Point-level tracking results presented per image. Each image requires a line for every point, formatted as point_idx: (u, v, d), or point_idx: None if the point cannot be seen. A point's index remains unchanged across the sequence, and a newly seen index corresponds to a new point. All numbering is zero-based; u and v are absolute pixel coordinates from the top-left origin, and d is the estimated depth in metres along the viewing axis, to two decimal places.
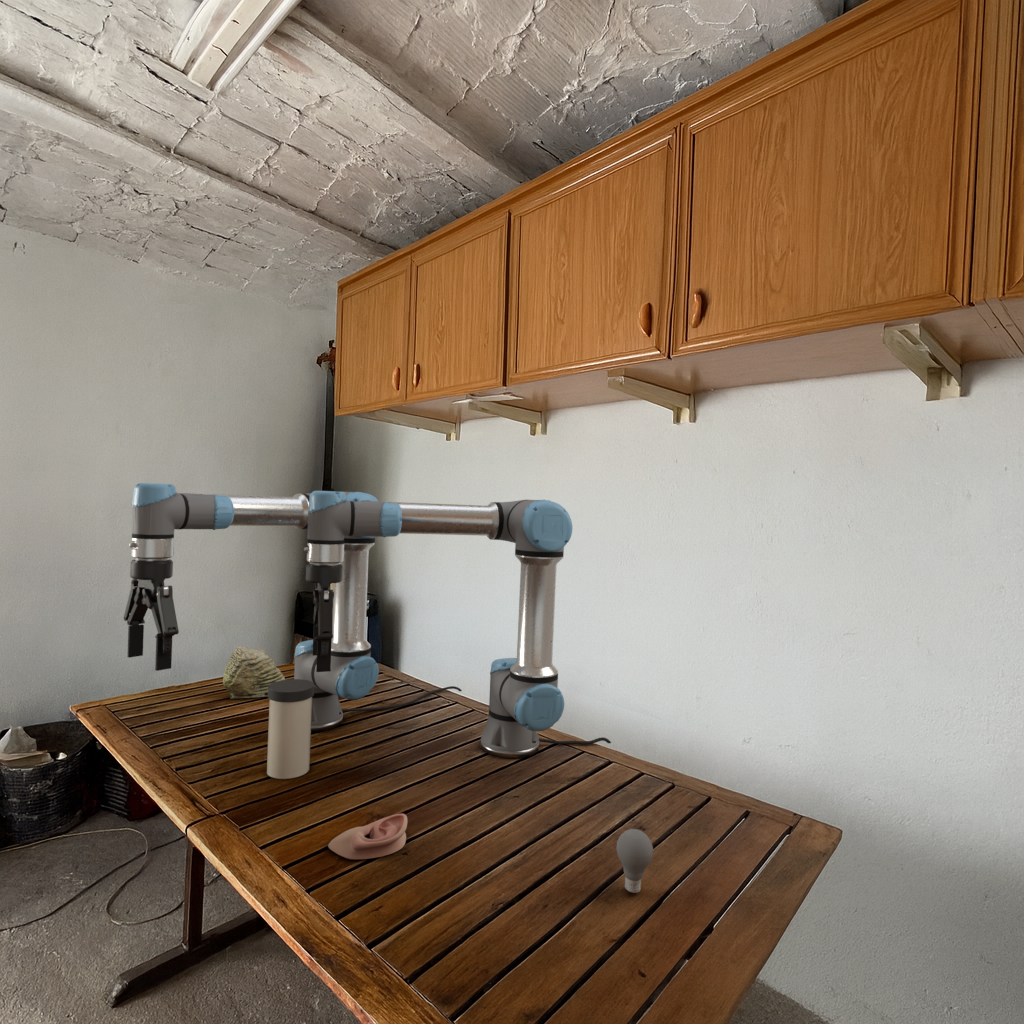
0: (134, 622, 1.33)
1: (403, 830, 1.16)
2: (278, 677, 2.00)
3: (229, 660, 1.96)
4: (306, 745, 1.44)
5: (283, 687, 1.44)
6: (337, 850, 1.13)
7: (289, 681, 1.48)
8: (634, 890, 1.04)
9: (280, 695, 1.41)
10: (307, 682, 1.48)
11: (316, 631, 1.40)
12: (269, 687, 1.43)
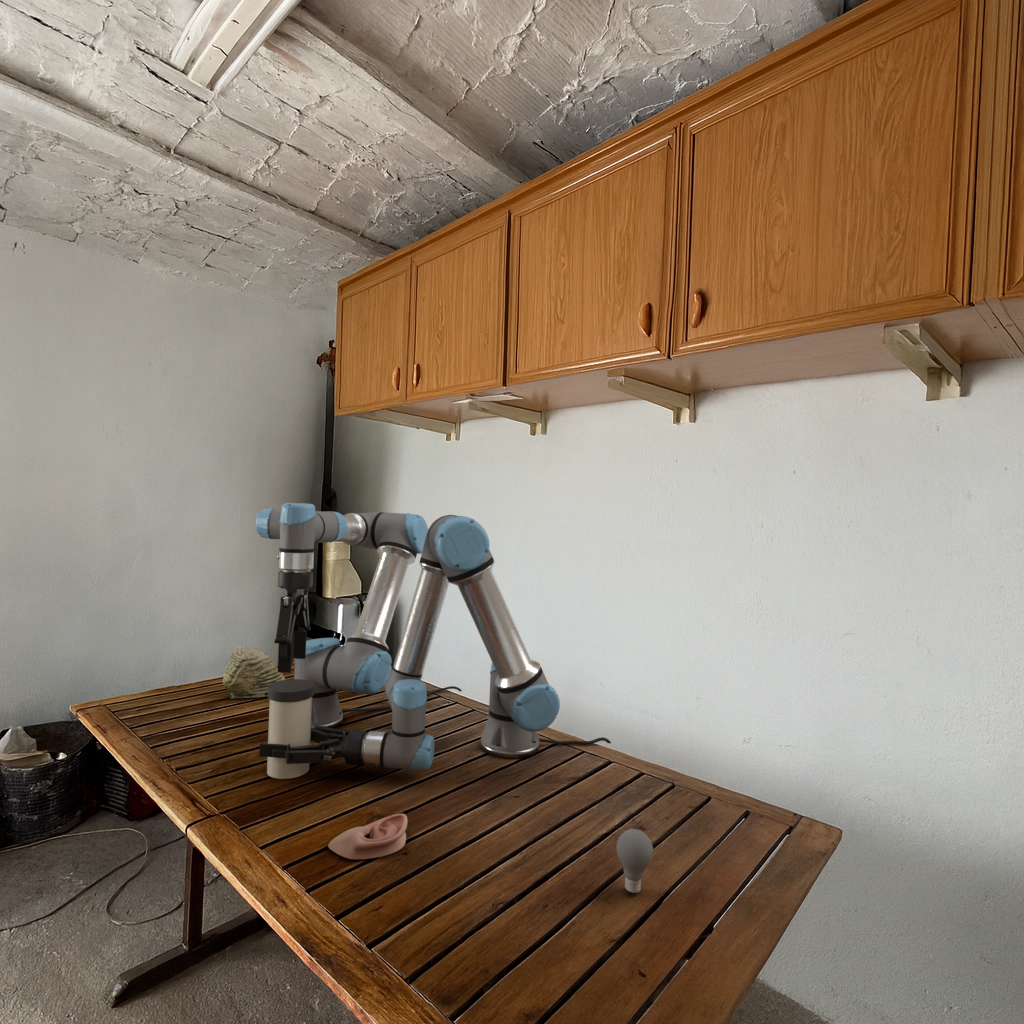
0: (300, 628, 1.52)
1: (403, 830, 1.16)
2: (278, 677, 2.00)
3: (229, 660, 1.96)
4: None
5: (283, 687, 1.44)
6: (337, 850, 1.13)
7: (289, 681, 1.48)
8: (634, 890, 1.04)
9: (280, 695, 1.41)
10: (307, 682, 1.48)
11: None
12: (269, 687, 1.43)
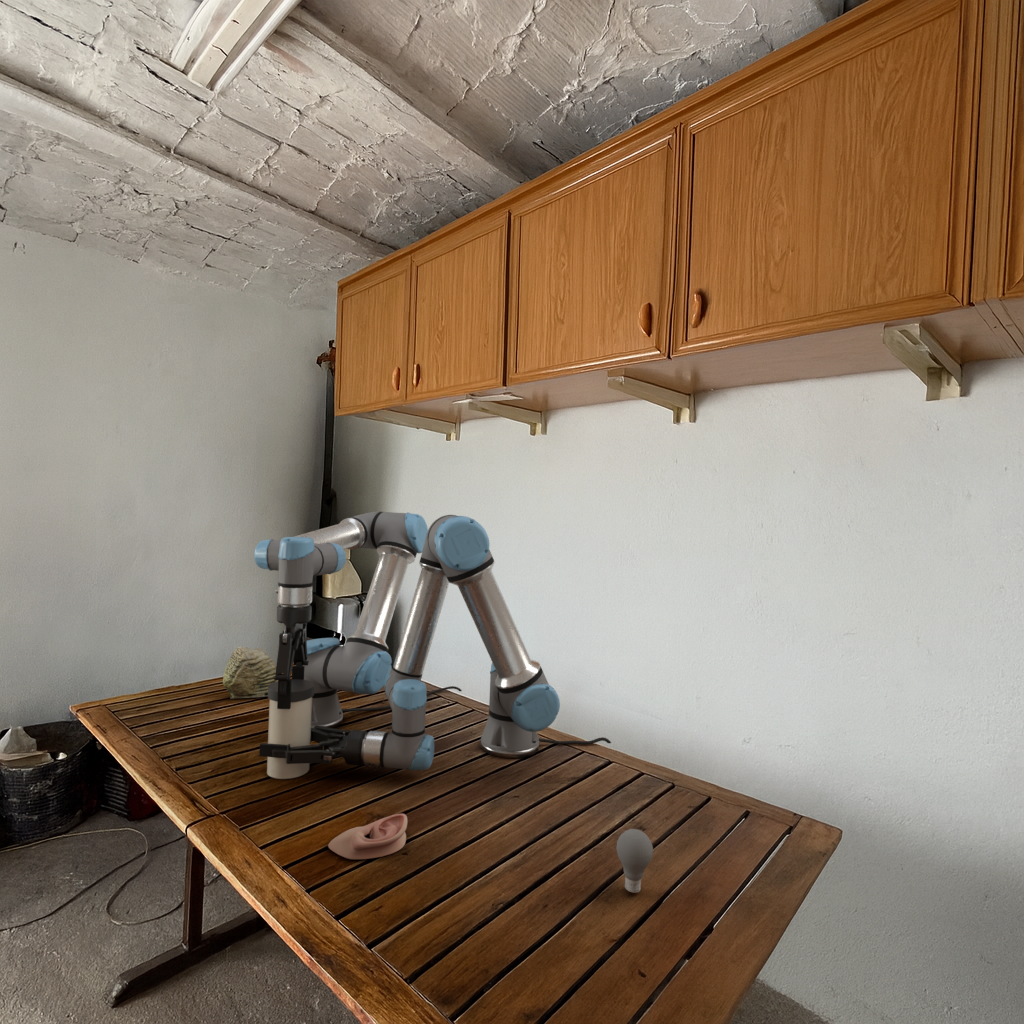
0: (298, 663, 1.51)
1: (403, 830, 1.16)
2: None
3: (229, 660, 1.96)
4: None
5: None
6: (337, 850, 1.13)
7: None
8: (634, 890, 1.04)
9: None
10: (307, 682, 1.48)
11: None
12: (269, 687, 1.43)
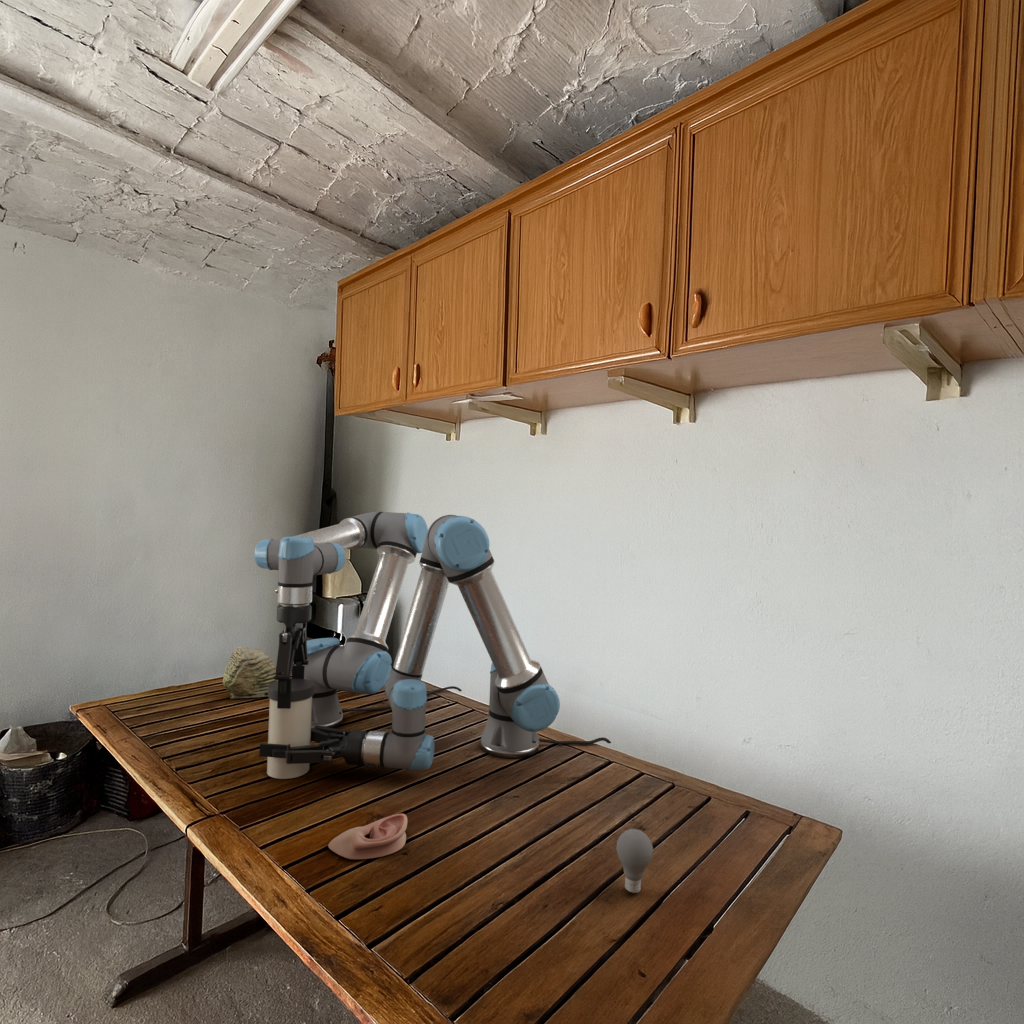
0: (298, 662, 1.51)
1: (403, 830, 1.16)
2: None
3: (229, 660, 1.96)
4: None
5: (291, 687, 1.44)
6: (337, 850, 1.13)
7: (277, 683, 1.46)
8: (634, 890, 1.04)
9: (304, 693, 1.42)
10: (293, 679, 1.49)
11: None
12: None
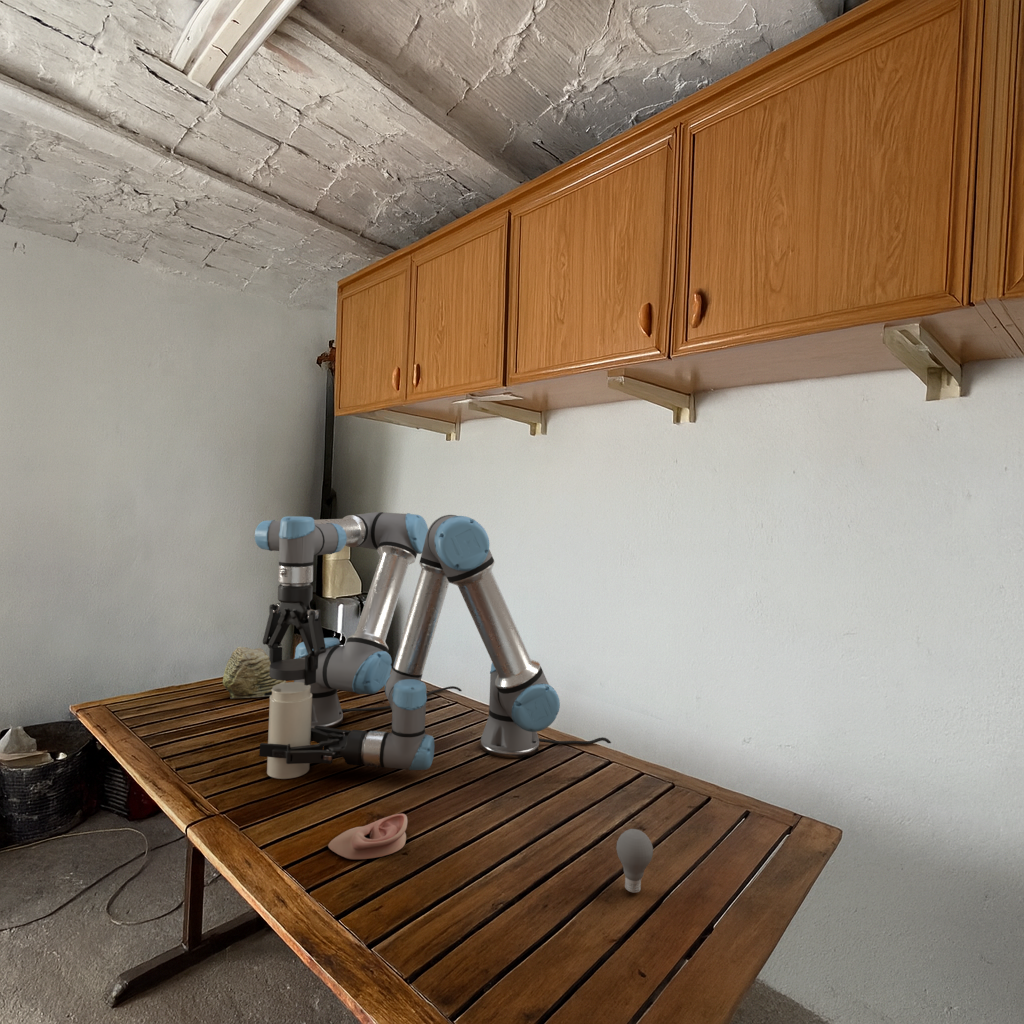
0: (274, 645, 1.48)
1: (403, 830, 1.16)
2: None
3: (229, 660, 1.96)
4: None
5: (301, 665, 1.45)
6: (337, 850, 1.13)
7: (280, 667, 1.43)
8: (634, 890, 1.04)
9: None
10: (278, 662, 1.47)
11: None
12: None
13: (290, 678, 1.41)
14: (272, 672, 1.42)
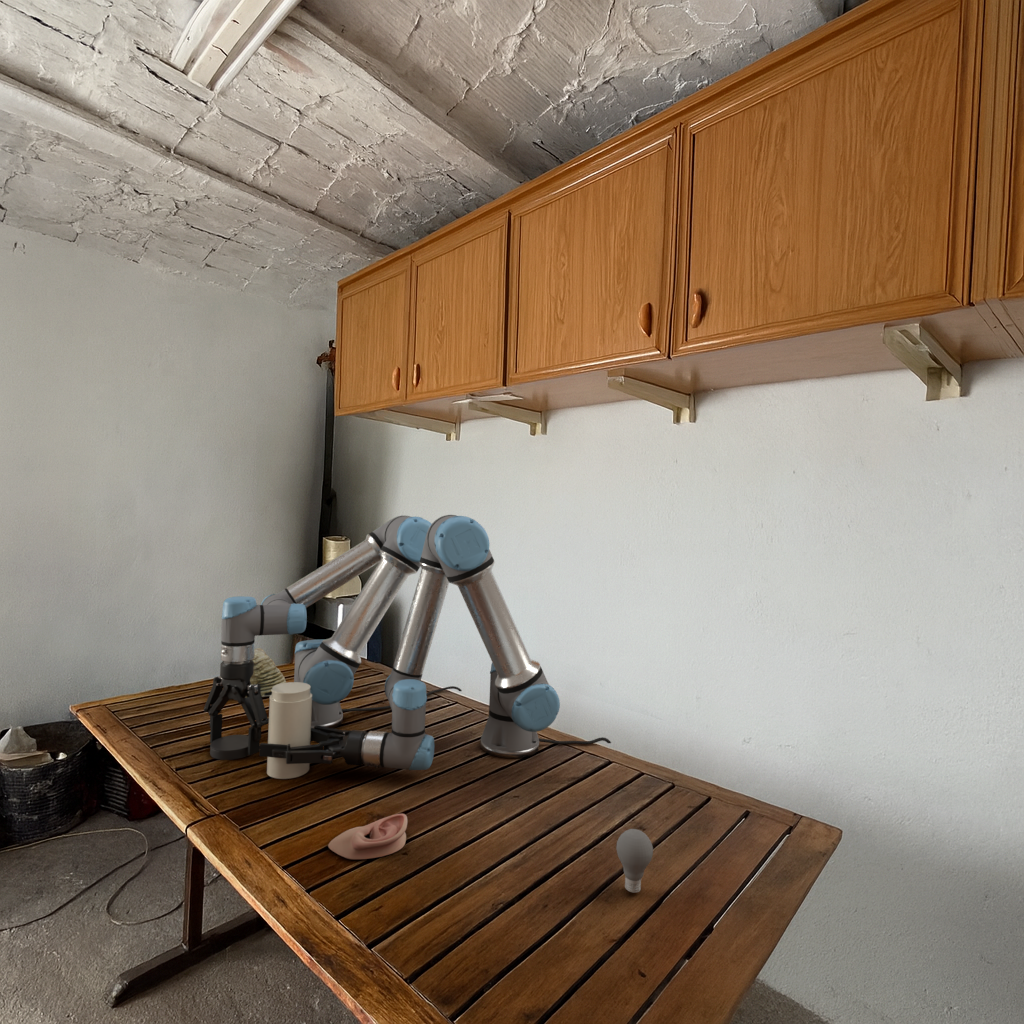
0: (215, 712, 1.58)
1: (403, 830, 1.16)
2: (278, 677, 2.00)
3: None
4: None
5: (240, 743, 1.54)
6: (337, 850, 1.13)
7: (220, 746, 1.52)
8: (634, 890, 1.04)
9: None
10: (220, 739, 1.56)
11: None
12: (244, 747, 1.52)
13: (228, 757, 1.50)
14: (212, 751, 1.51)
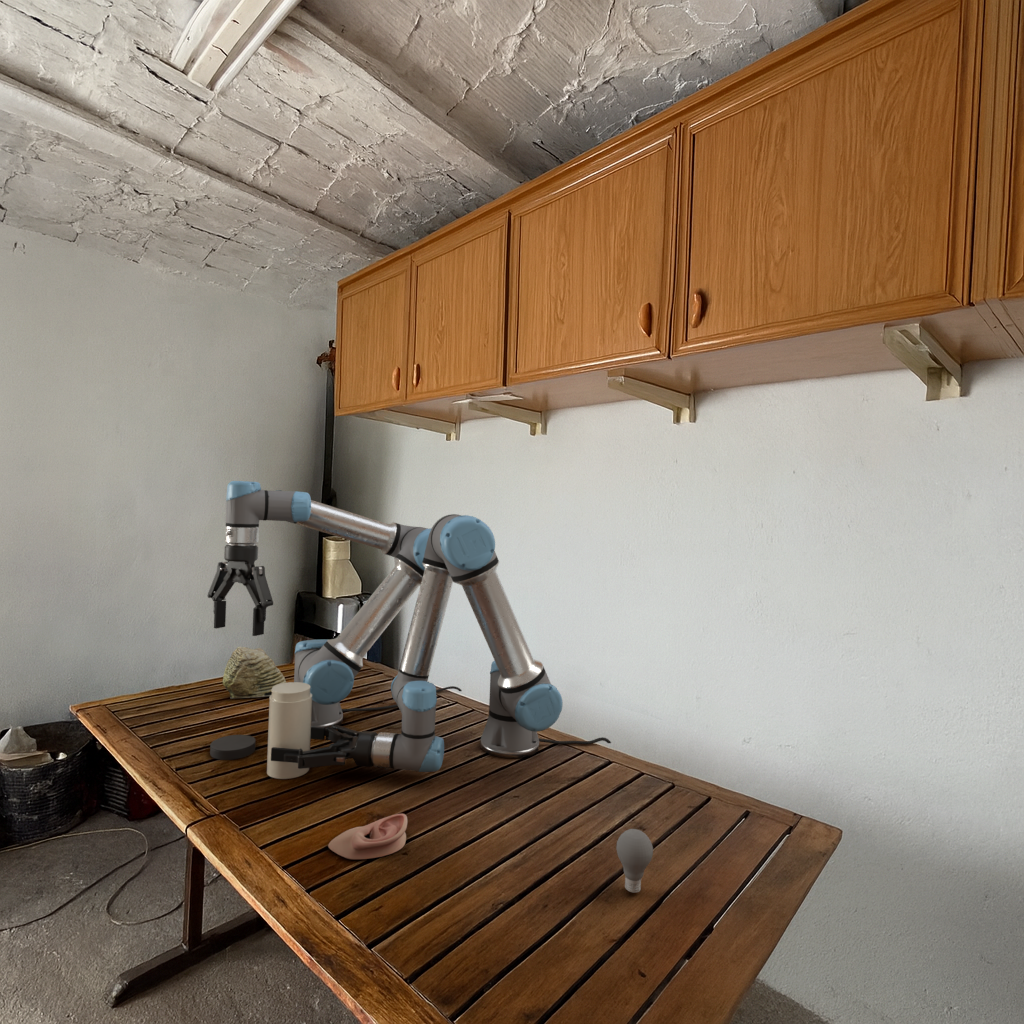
0: (218, 598, 1.57)
1: (403, 830, 1.16)
2: (278, 677, 2.00)
3: (229, 660, 1.96)
4: (306, 745, 1.44)
5: (240, 743, 1.54)
6: (337, 850, 1.13)
7: (220, 746, 1.52)
8: (634, 890, 1.04)
9: None
10: (220, 739, 1.56)
11: None
12: (244, 747, 1.52)
13: (228, 757, 1.50)
14: (212, 751, 1.51)
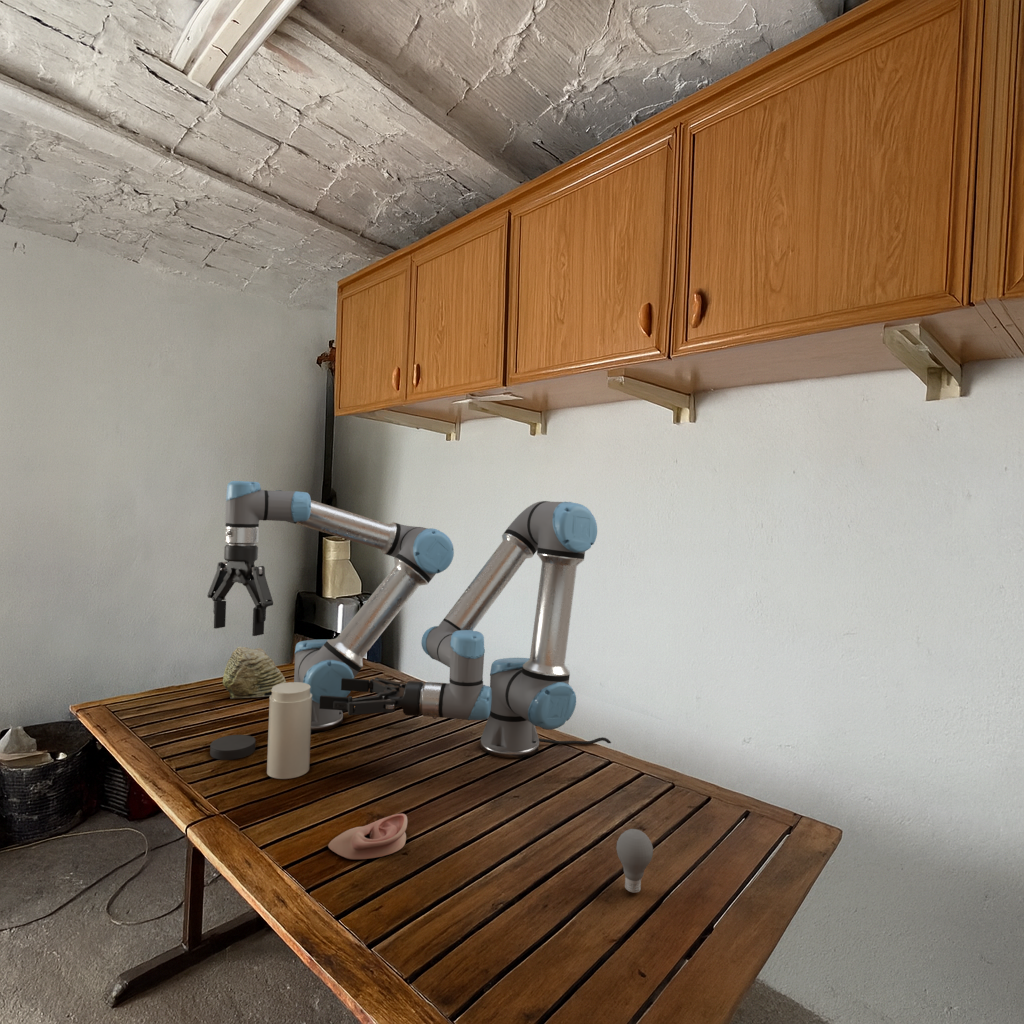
0: (218, 598, 1.57)
1: (403, 830, 1.16)
2: (278, 677, 2.00)
3: (229, 660, 1.96)
4: (306, 745, 1.44)
5: (240, 743, 1.54)
6: (337, 850, 1.13)
7: (220, 746, 1.52)
8: (634, 890, 1.04)
9: None
10: (220, 739, 1.56)
11: None
12: (244, 747, 1.52)
13: (228, 757, 1.50)
14: (212, 751, 1.51)
